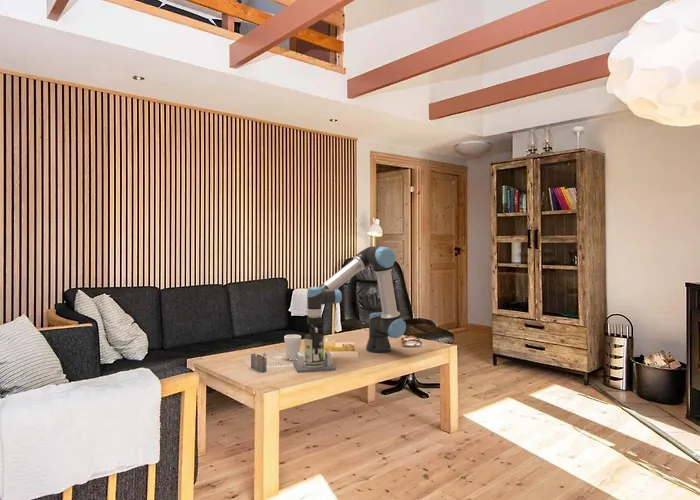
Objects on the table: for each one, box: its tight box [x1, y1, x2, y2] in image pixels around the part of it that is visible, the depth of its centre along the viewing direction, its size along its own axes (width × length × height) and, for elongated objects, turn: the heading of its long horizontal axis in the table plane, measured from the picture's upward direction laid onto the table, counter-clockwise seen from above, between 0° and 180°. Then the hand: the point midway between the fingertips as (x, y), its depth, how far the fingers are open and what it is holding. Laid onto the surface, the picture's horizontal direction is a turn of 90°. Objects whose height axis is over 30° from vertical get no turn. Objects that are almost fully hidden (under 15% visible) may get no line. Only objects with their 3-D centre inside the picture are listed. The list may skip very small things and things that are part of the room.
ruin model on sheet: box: [250, 352, 268, 373], centre depth 250 cm, size 11×3×10 cm, turn 41°
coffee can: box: [304, 333, 325, 364], centre depth 255 cm, size 10×10×14 cm
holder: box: [292, 350, 337, 374], centre depth 256 cm, size 20×17×7 cm
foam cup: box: [283, 334, 302, 361], centre depth 271 cm, size 10×9×13 cm
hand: (314, 357), depth 256 cm, fingers closed on coffee can, 10 cm apart
